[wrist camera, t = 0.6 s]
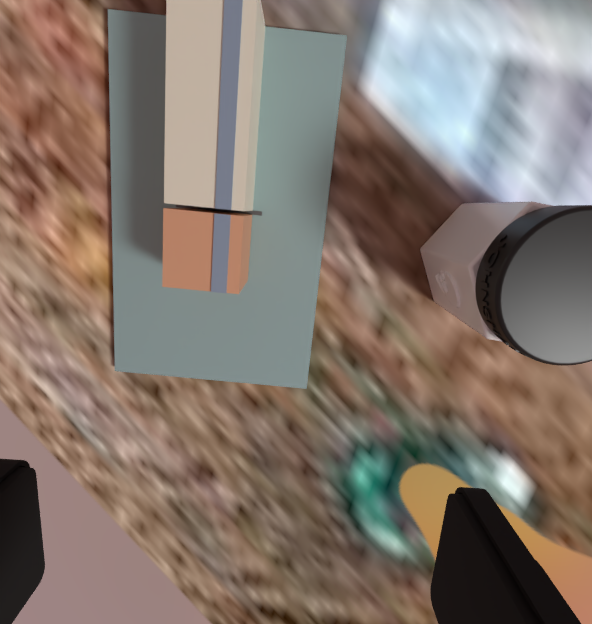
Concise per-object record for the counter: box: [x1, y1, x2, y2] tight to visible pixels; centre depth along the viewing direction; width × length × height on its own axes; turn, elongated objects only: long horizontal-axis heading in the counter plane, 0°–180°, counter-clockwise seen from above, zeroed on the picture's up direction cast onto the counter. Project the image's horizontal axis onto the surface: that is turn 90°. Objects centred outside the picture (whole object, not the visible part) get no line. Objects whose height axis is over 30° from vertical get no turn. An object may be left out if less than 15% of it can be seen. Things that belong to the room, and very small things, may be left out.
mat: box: [108, 9, 347, 389], centre depth 30 cm, size 26×16×1 cm, turn 174°
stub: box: [162, 208, 252, 294], centre depth 28 cm, size 5×5×5 cm
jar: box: [420, 202, 592, 365], centre depth 25 cm, size 9×8×12 cm
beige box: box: [164, 0, 265, 211], centre depth 26 cm, size 12×5×5 cm, turn 174°
